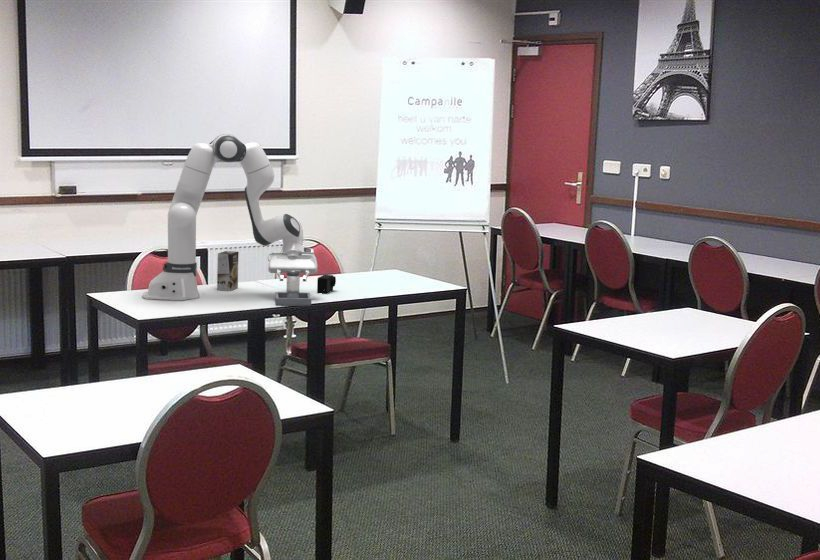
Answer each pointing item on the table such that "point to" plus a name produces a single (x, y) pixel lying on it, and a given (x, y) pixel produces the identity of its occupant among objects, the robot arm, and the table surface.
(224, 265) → the coffee box
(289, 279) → the shaker
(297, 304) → the tray
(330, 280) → the digital camera
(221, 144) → the robot arm
